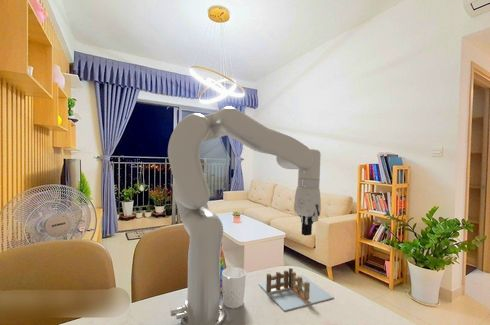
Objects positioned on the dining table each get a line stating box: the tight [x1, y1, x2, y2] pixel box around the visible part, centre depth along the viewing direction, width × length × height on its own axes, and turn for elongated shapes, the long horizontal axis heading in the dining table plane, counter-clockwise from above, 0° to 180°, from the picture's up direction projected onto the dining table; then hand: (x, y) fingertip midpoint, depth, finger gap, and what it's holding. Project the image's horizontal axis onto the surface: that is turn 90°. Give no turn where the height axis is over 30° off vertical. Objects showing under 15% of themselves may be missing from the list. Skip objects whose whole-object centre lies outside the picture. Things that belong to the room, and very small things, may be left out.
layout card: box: [258, 274, 335, 313], centre depth 89 cm, size 20×18×1 cm
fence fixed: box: [266, 267, 294, 293], centre depth 89 cm, size 10×1×7 cm, turn 113°
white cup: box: [221, 266, 247, 309], centre depth 81 cm, size 8×8×10 cm
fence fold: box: [291, 271, 310, 300], centre depth 86 cm, size 9×1×6 cm, turn 23°
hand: (306, 234), depth 89 cm, fingers closed
